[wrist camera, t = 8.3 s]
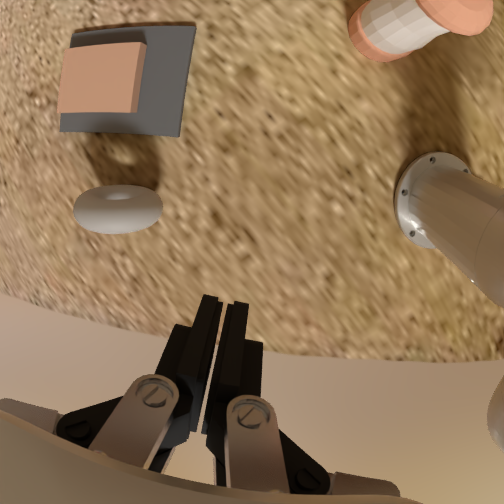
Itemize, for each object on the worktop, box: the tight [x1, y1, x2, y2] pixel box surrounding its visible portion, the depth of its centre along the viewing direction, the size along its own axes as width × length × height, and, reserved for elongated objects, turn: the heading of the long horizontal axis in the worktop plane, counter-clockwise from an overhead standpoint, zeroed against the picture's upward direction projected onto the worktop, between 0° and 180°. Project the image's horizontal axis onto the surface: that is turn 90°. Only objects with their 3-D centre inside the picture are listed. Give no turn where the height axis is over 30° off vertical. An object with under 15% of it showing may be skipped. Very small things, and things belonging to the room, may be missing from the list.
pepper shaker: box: [348, 0, 493, 62], centre depth 18 cm, size 7×7×19 cm
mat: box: [60, 26, 197, 137], centre depth 30 cm, size 16×13×1 cm
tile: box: [57, 42, 147, 113], centre depth 28 cm, size 2×8×10 cm
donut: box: [73, 185, 163, 234], centre depth 31 cm, size 10×3×10 cm, turn 83°
